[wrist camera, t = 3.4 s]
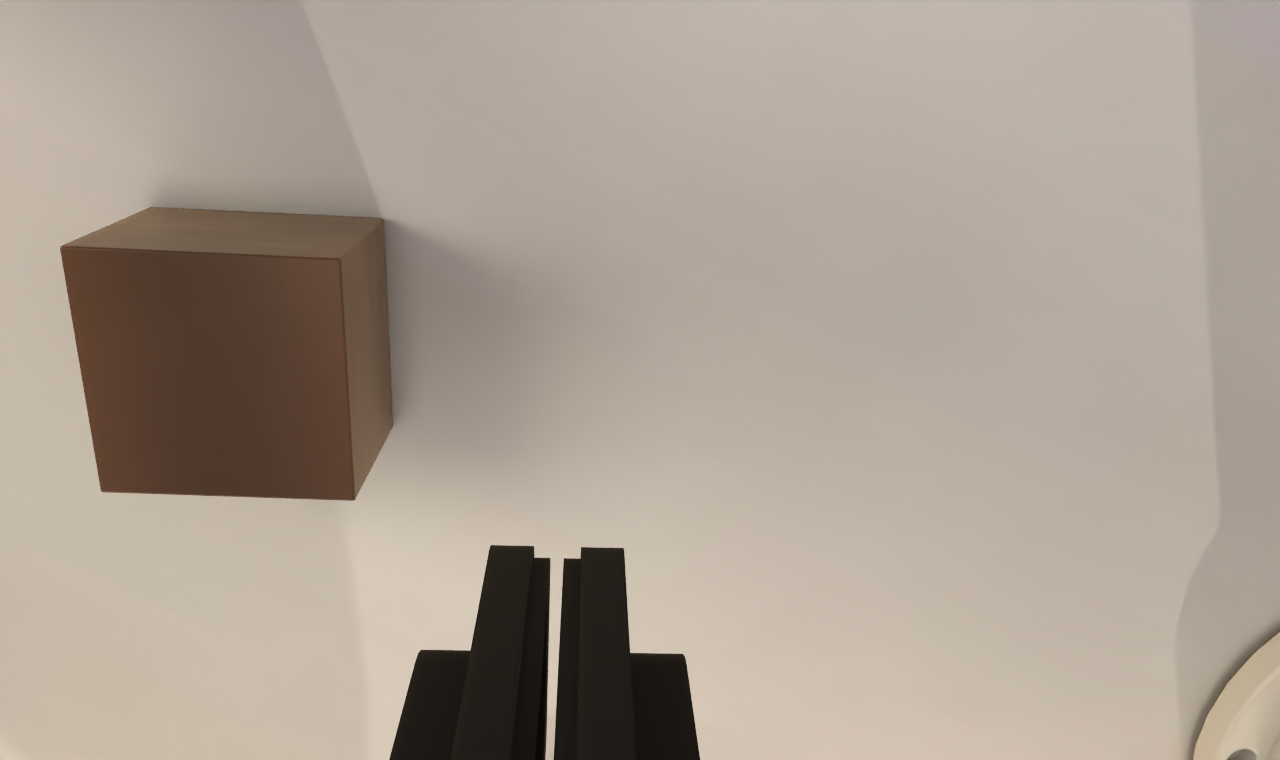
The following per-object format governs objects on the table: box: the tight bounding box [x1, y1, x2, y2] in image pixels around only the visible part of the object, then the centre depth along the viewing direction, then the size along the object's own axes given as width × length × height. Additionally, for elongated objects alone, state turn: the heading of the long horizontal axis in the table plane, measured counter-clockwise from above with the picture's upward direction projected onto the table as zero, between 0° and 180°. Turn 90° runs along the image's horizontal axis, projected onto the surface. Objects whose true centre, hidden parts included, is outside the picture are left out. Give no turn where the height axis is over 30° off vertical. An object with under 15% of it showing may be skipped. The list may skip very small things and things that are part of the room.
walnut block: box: [60, 207, 393, 501], centre depth 22 cm, size 6×6×4 cm
